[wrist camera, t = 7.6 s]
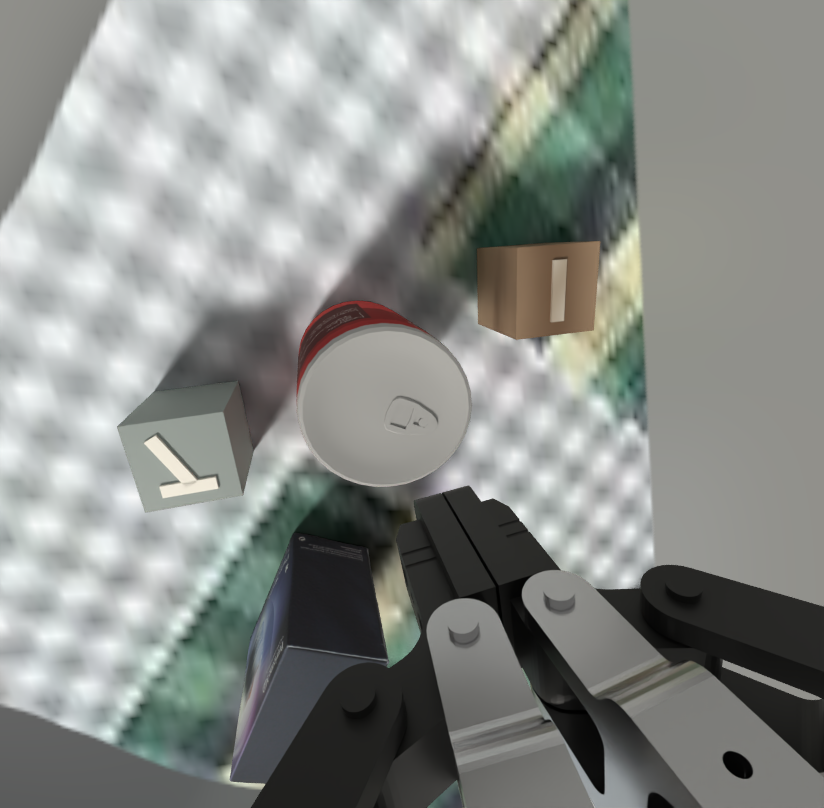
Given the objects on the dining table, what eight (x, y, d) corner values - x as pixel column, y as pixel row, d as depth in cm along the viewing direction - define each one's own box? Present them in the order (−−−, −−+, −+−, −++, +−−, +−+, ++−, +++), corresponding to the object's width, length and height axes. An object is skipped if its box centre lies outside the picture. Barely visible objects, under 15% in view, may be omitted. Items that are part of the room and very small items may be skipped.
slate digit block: (238, 380, 28) (222, 412, 23) (253, 450, 30) (242, 496, 24) (154, 391, 27) (115, 427, 22) (175, 462, 29) (144, 514, 23)
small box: (288, 527, 32) (283, 644, 23) (370, 545, 35) (396, 658, 25) (244, 639, 35) (222, 788, 25) (323, 649, 37) (331, 790, 27)
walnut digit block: (545, 242, 30) (602, 241, 24) (543, 316, 32) (595, 330, 26) (476, 248, 29) (518, 247, 23) (477, 323, 31) (517, 340, 25)
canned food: (410, 412, 32) (461, 488, 22) (295, 409, 30) (293, 490, 20) (423, 305, 29) (487, 333, 19) (300, 293, 27) (299, 317, 17)
